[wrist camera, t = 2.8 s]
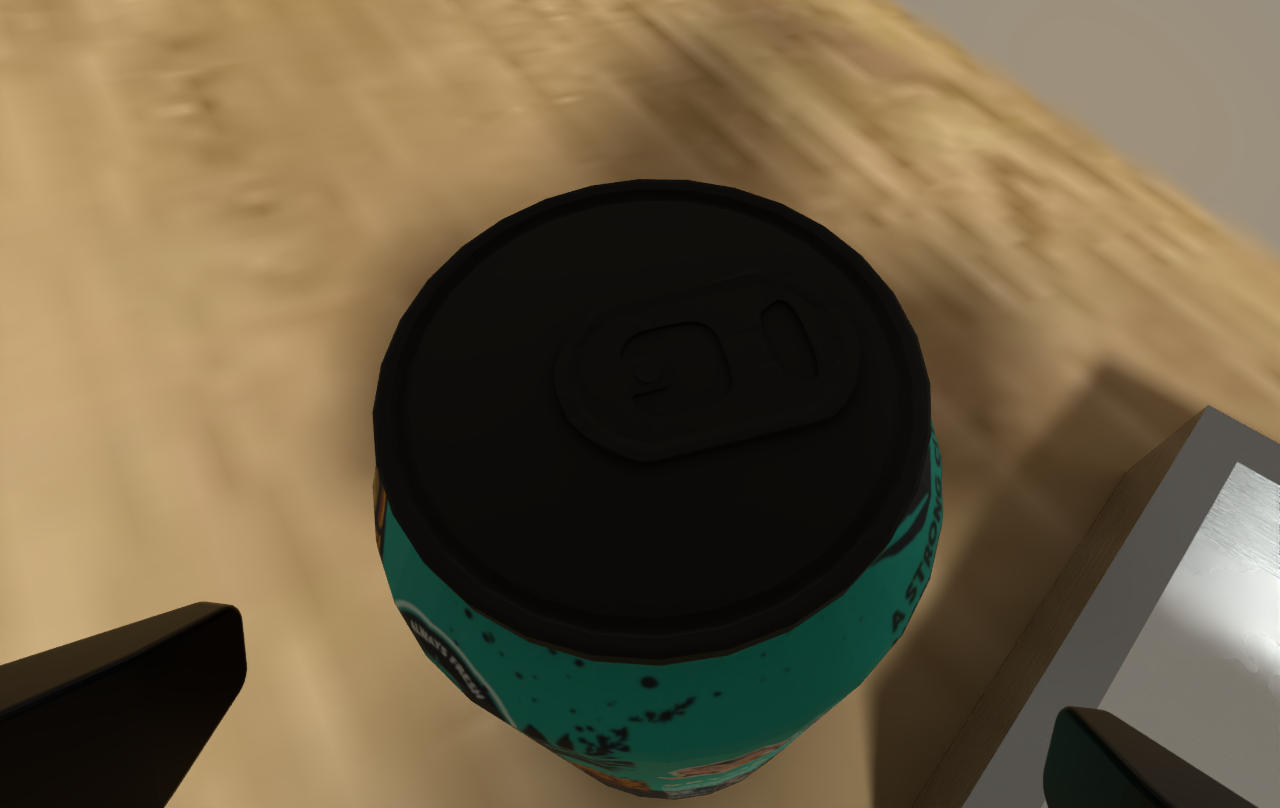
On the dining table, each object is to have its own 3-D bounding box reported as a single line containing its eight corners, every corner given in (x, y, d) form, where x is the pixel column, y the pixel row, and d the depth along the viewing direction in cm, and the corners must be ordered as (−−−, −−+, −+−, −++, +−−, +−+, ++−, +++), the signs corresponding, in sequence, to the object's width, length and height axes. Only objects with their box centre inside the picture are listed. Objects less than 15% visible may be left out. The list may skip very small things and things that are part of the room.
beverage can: (505, 539, 19) (304, 204, 9) (758, 476, 20) (841, 93, 10) (552, 839, 16) (311, 850, 6) (858, 753, 16) (1157, 618, 6)
